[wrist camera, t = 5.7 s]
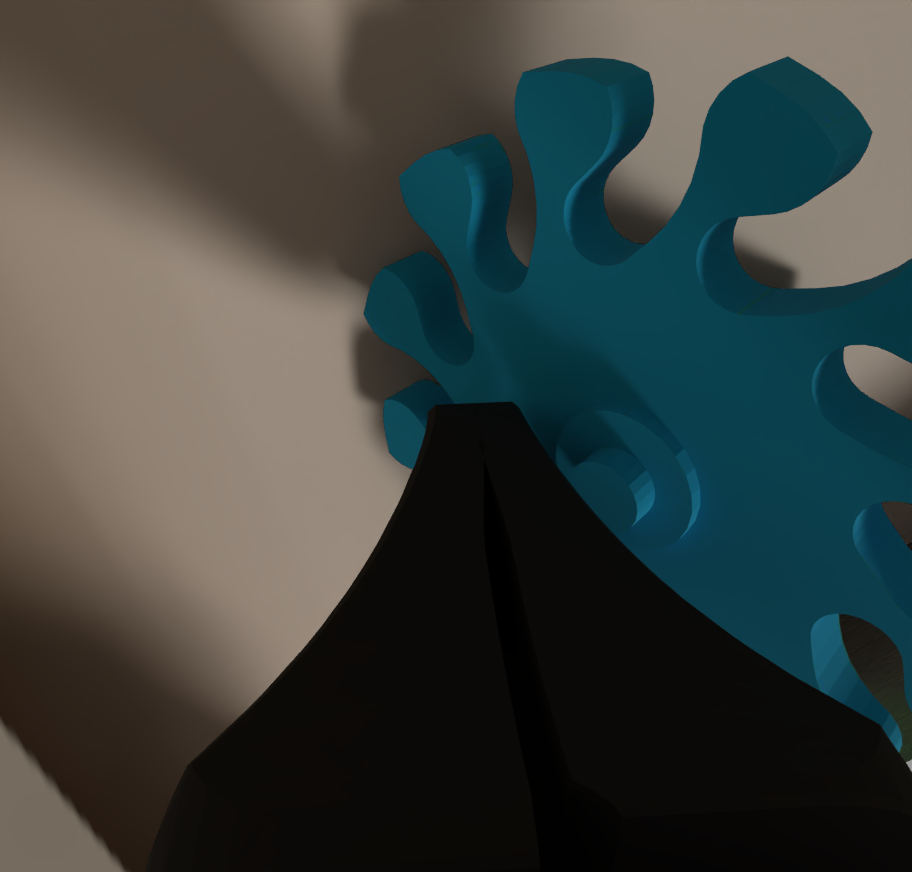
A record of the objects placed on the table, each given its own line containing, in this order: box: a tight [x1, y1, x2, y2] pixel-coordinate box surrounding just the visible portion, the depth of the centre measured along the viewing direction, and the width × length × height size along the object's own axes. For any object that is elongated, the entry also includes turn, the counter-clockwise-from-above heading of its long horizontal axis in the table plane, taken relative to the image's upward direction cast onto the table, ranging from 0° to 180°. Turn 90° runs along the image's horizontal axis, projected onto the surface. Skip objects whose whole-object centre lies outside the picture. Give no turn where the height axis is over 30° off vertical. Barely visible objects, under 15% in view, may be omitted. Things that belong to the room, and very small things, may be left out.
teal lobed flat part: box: [364, 57, 912, 752], centre depth 12 cm, size 11×6×10 cm
